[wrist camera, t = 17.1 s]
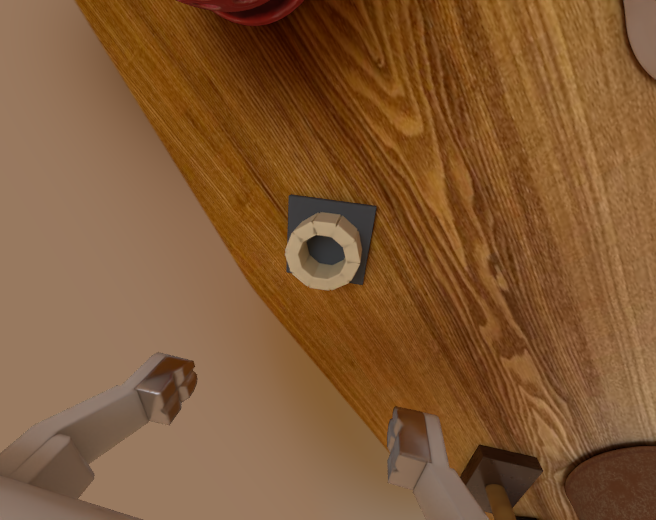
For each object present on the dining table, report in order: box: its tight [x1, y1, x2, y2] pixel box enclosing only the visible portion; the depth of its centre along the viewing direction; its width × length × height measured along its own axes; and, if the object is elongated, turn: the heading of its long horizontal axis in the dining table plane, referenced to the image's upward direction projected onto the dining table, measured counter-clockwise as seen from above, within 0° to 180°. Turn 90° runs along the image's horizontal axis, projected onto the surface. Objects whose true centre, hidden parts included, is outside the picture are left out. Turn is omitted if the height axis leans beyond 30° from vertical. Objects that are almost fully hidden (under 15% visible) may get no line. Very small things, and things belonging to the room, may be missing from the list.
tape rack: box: [460, 445, 543, 520], centre depth 33 cm, size 12×7×6 cm, turn 175°
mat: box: [287, 195, 376, 285], centre depth 25 cm, size 8×8×1 cm
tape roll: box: [285, 212, 362, 291], centre depth 24 cm, size 6×7×3 cm
